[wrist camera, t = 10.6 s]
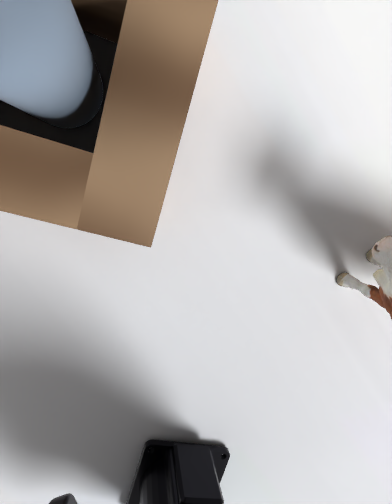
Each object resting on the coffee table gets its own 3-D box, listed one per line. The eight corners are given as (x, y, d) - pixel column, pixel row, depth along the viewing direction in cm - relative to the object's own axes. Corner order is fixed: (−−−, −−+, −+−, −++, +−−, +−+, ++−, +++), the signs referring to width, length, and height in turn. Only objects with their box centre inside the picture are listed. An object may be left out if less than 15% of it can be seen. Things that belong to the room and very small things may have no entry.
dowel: (71, 144, 17) (-161, 64, 4) (3, 87, 16) (-707, -335, 2) (119, 85, 17) (50, -233, 3) (53, 23, 16) (-455, -854, 2)
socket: (147, 227, 19) (150, 247, 14) (-86, 166, 16) (-180, 166, 11) (206, 7, 16) (234, -58, 12) (-56, -111, 14) (-159, -260, 9)
